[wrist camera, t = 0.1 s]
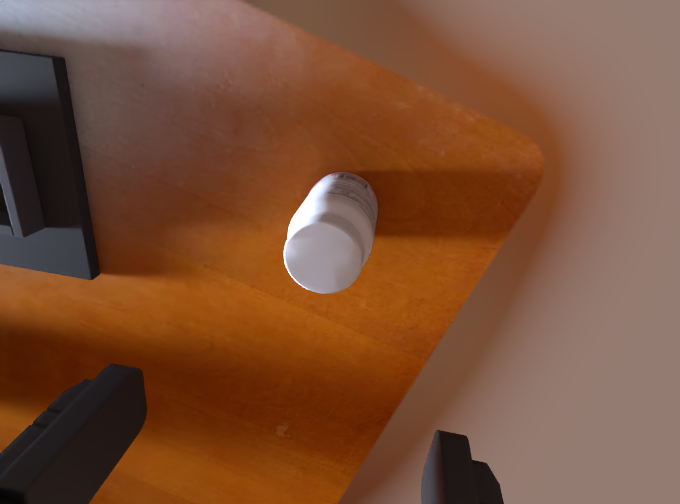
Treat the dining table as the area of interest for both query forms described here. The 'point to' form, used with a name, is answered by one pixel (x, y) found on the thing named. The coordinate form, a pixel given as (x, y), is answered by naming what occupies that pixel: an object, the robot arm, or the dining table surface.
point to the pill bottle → (332, 233)
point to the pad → (41, 171)
